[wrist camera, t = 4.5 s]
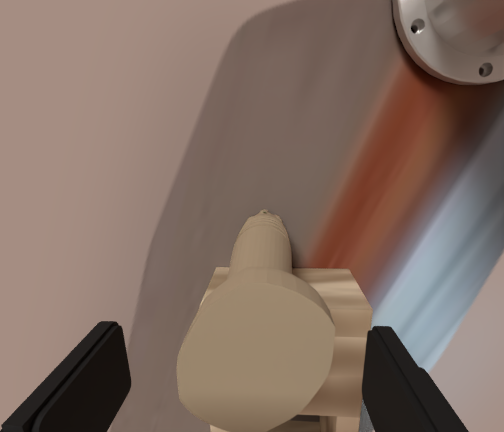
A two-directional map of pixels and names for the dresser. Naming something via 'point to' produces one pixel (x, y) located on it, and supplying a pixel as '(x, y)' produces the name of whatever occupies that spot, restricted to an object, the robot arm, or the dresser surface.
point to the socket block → (344, 353)
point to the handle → (256, 338)
